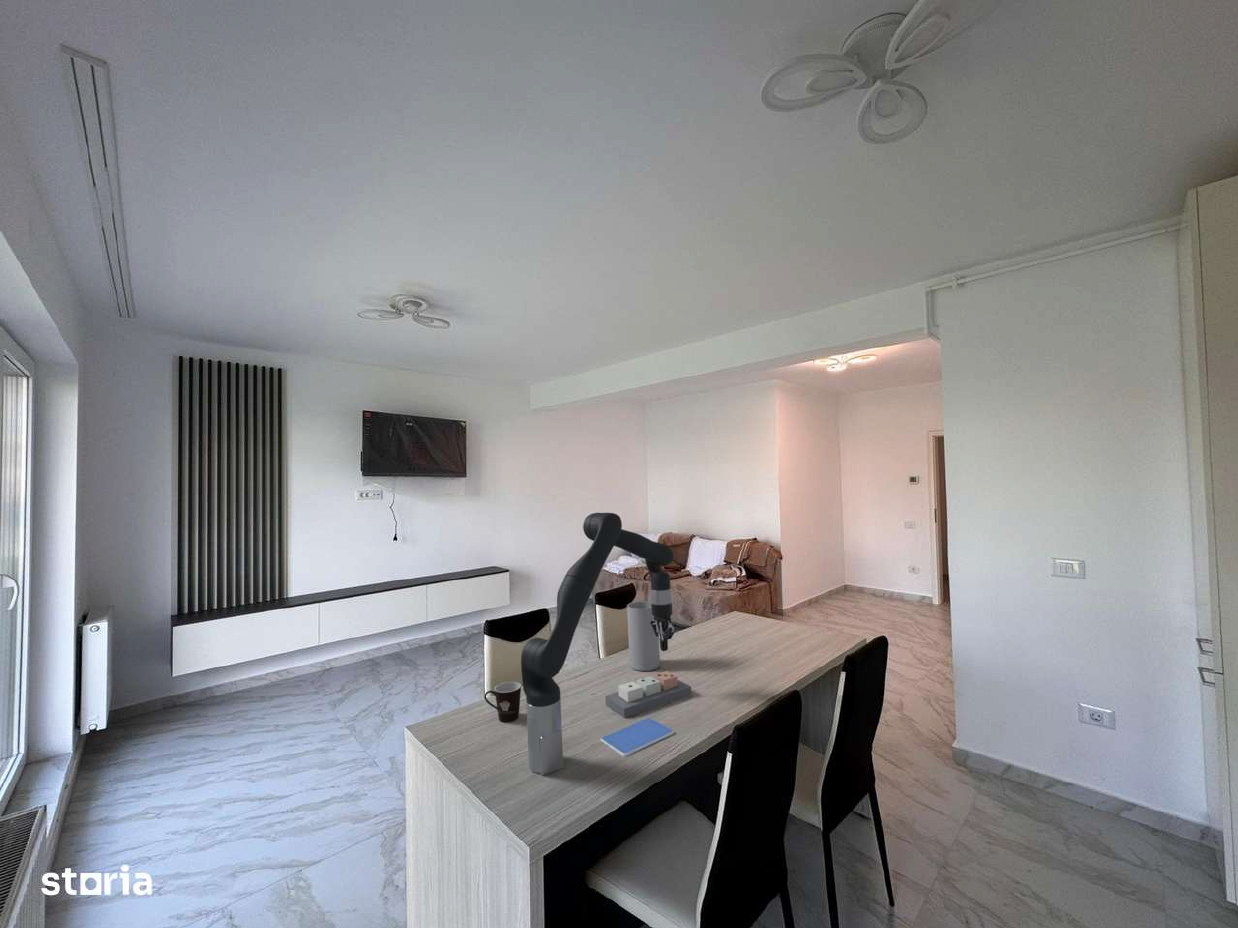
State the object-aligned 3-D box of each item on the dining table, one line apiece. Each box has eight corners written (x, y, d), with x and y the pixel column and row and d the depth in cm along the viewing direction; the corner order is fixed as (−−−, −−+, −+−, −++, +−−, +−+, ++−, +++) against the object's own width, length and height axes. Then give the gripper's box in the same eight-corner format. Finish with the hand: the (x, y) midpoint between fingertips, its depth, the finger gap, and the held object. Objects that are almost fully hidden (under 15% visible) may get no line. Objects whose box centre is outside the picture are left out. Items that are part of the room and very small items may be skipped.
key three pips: (677, 686, 171) (677, 675, 171) (664, 690, 168) (663, 679, 168) (667, 680, 176) (666, 670, 176) (654, 684, 173) (653, 674, 173)
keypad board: (691, 694, 170) (690, 686, 170) (624, 718, 155) (624, 708, 155) (670, 684, 180) (670, 675, 180) (605, 704, 166) (605, 695, 166)
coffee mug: (527, 714, 161) (526, 684, 161) (509, 726, 154) (508, 694, 154) (502, 708, 167) (501, 678, 167) (483, 718, 159) (482, 688, 160)
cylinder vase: (660, 660, 205) (657, 601, 206) (659, 671, 193) (656, 608, 194) (631, 660, 206) (628, 601, 208) (628, 672, 194) (625, 609, 195)
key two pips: (660, 691, 167) (660, 680, 167) (646, 696, 164) (646, 685, 164) (650, 686, 172) (650, 675, 172) (636, 690, 169) (636, 679, 169)
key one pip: (643, 697, 163) (642, 686, 163) (628, 702, 160) (627, 690, 160) (633, 691, 168) (632, 680, 168) (618, 696, 165) (618, 685, 165)
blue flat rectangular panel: (624, 759, 133) (624, 754, 133) (598, 741, 143) (598, 737, 143) (675, 735, 144) (675, 730, 144) (648, 720, 154) (648, 716, 154)
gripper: (681, 602, 170) (684, 652, 169) (658, 596, 181) (661, 643, 180) (664, 606, 166) (667, 657, 165) (642, 599, 177) (645, 647, 176)
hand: (664, 650), depth 173 cm, fingers closed
